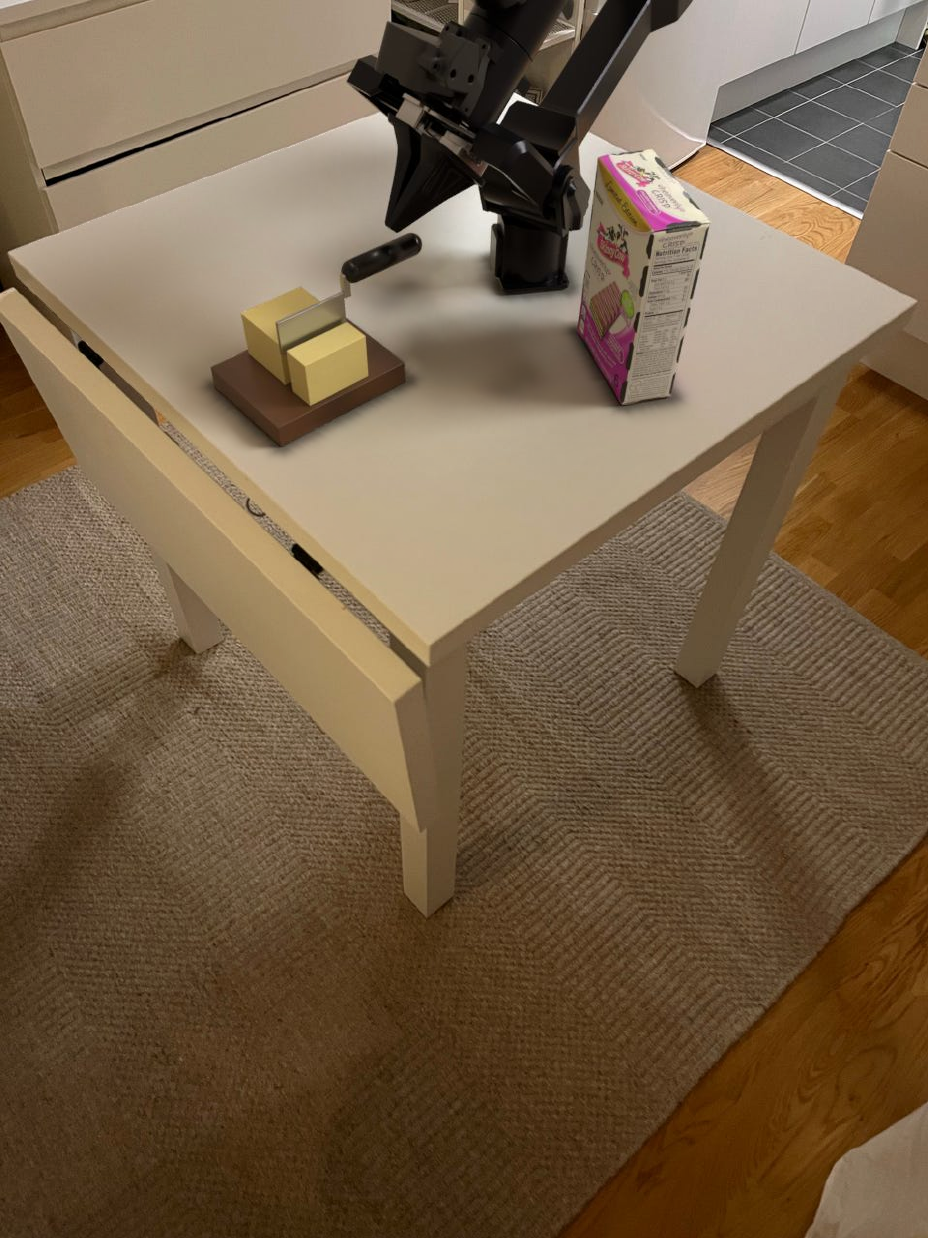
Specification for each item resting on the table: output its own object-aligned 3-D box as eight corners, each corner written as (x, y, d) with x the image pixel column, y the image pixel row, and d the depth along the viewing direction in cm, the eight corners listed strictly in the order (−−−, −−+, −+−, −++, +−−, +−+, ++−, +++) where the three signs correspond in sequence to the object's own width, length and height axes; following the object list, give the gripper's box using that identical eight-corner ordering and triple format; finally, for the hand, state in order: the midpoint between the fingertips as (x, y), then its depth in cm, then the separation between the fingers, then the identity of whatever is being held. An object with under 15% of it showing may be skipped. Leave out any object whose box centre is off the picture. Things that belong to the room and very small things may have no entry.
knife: (414, 283, 83) (412, 225, 79) (427, 292, 82) (426, 234, 78) (274, 349, 77) (265, 291, 73) (287, 360, 76) (278, 302, 72)
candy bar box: (572, 331, 88) (594, 153, 75) (623, 322, 89) (653, 145, 76) (618, 409, 81) (651, 228, 68) (672, 399, 82) (715, 219, 69)
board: (336, 327, 88) (334, 308, 86) (405, 381, 83) (405, 362, 82) (214, 386, 82) (209, 367, 81) (281, 447, 78) (277, 428, 76)
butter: (305, 326, 84) (300, 285, 81) (368, 376, 80) (365, 335, 77) (248, 353, 82) (240, 312, 79) (310, 406, 78) (304, 366, 75)
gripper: (356, -69, 69) (252, 134, 73) (537, 14, 61) (407, 238, 65) (440, 23, 79) (343, 198, 83) (606, 106, 70) (489, 296, 74)
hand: (390, 229), depth 76 cm, fingers closed
